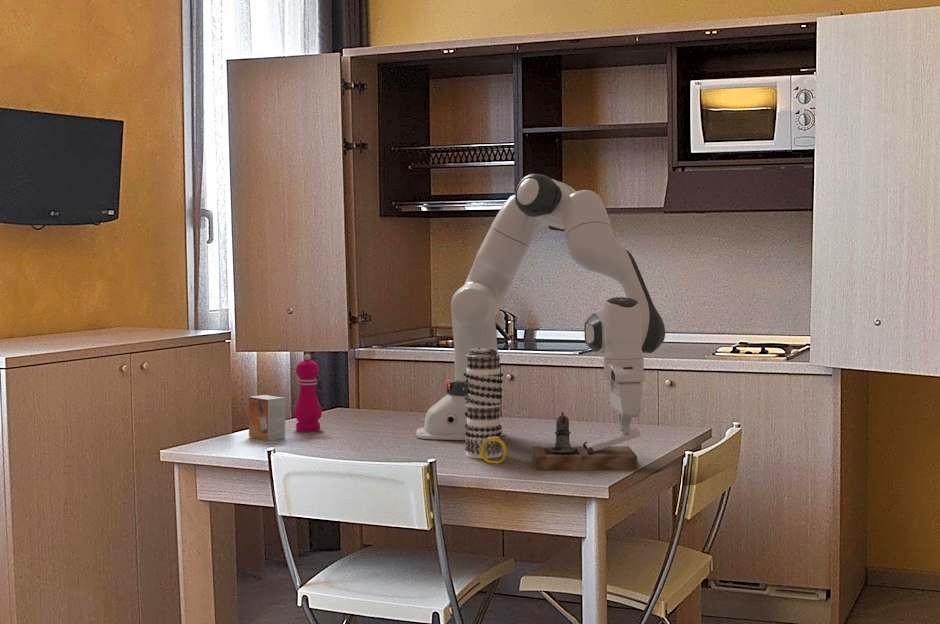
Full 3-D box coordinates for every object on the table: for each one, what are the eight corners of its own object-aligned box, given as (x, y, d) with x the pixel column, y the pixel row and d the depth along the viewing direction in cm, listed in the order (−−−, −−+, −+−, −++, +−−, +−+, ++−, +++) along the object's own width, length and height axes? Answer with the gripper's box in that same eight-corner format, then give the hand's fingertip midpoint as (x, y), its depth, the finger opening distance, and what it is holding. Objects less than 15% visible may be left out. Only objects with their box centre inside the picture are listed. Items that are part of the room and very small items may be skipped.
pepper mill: (289, 431, 315) (288, 355, 314) (303, 426, 322) (302, 352, 321) (313, 432, 313) (312, 356, 311) (326, 428, 319) (326, 353, 318)
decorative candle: (500, 459, 276) (500, 350, 274) (460, 458, 278) (460, 350, 276) (506, 452, 285) (506, 346, 283) (467, 451, 287) (467, 346, 285)
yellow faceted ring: (479, 464, 272) (478, 438, 272) (484, 462, 275) (483, 436, 275) (504, 464, 270) (502, 437, 270) (509, 462, 272) (507, 436, 272)
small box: (248, 437, 306) (247, 396, 305) (266, 434, 310) (265, 394, 309) (268, 441, 300) (267, 399, 300) (285, 438, 305) (285, 397, 304)
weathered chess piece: (576, 463, 271) (576, 410, 271) (575, 467, 265) (575, 413, 265) (550, 463, 272) (549, 410, 271) (548, 467, 266) (548, 413, 265)
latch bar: (589, 452, 267) (587, 447, 267) (586, 448, 272) (585, 443, 272) (640, 436, 267) (639, 431, 267) (637, 432, 272) (635, 427, 272)
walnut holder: (536, 470, 264) (536, 450, 263) (532, 459, 276) (532, 440, 275) (636, 469, 264) (637, 449, 264) (628, 459, 276) (628, 440, 276)
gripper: (603, 366, 279) (604, 426, 280) (616, 375, 259) (617, 439, 259) (630, 365, 279) (631, 425, 280) (645, 374, 259) (647, 438, 259)
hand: (625, 432), depth 269 cm, fingers closed, pressing on latch bar
